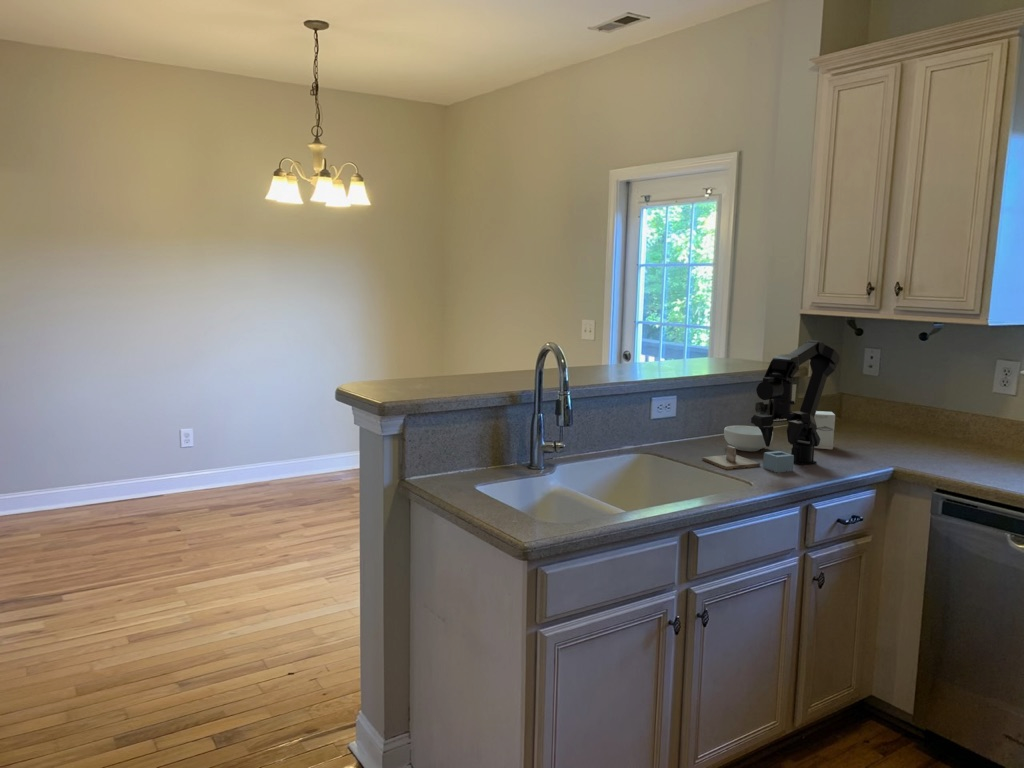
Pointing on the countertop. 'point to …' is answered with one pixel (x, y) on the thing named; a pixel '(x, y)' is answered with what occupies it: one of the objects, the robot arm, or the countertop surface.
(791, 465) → the blue-grey square socket block
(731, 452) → the wooden peg base
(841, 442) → the countertop surface
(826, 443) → the supplement box
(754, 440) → the cereal bowl
